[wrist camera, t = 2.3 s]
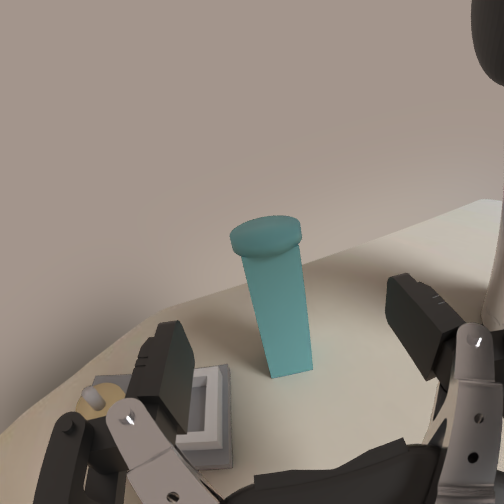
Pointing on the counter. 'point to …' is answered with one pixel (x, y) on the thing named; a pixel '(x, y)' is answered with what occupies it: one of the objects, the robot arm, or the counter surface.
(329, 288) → the counter surface
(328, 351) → the counter surface
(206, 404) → the housing
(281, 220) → the lidded tumbler
